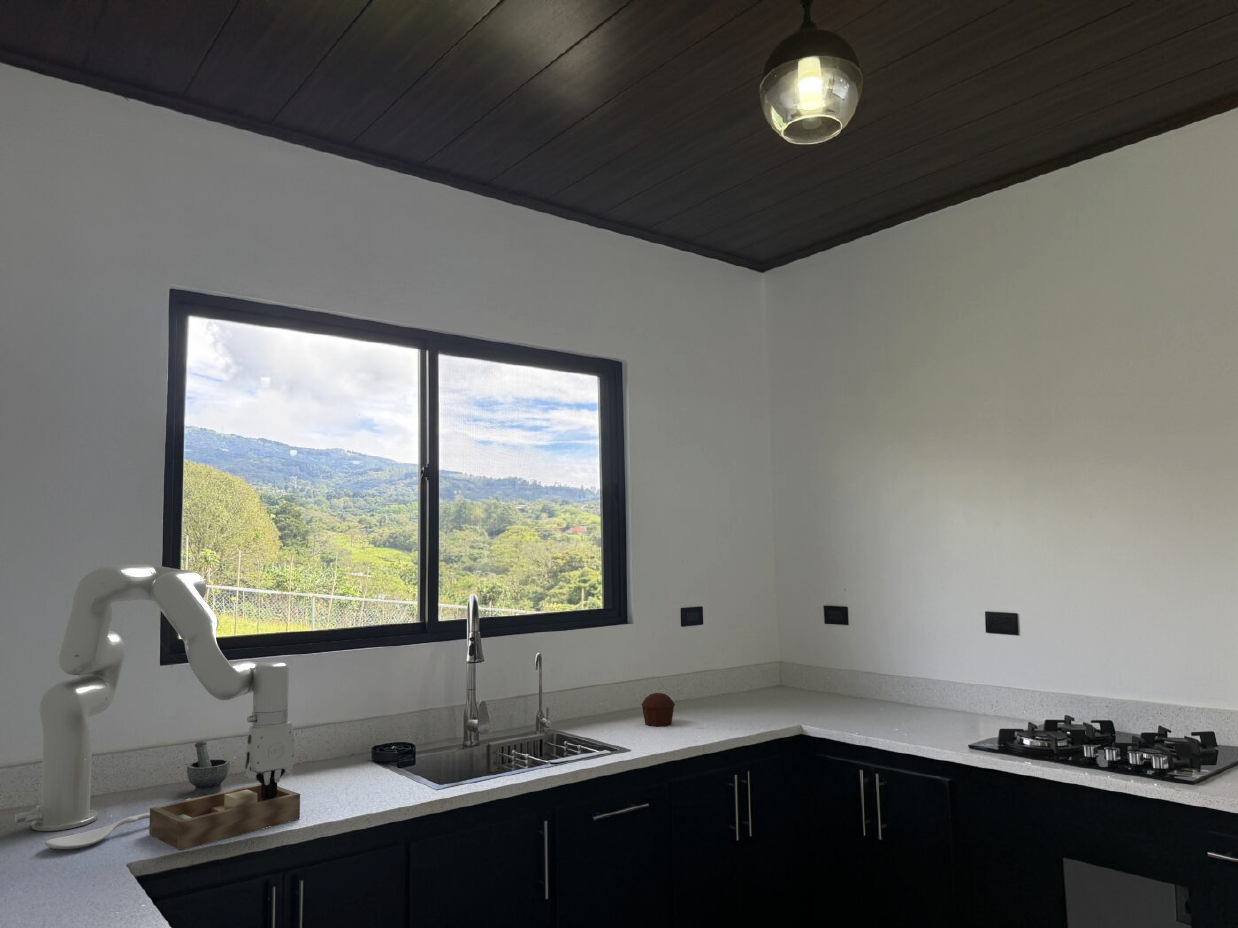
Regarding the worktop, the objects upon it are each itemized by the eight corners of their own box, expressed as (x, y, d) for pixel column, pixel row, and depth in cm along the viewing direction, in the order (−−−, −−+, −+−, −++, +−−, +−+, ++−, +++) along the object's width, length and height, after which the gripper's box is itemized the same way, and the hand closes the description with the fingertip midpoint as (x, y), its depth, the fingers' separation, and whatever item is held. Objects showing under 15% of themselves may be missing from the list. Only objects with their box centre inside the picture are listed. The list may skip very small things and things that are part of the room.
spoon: (210, 817, 201) (210, 802, 202) (56, 860, 176) (57, 842, 176) (189, 811, 207) (190, 796, 207) (37, 851, 181) (37, 834, 181)
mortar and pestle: (235, 790, 223) (236, 742, 224) (197, 798, 216) (198, 748, 217) (215, 783, 230) (216, 736, 231) (178, 791, 223) (179, 742, 225)
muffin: (639, 721, 300) (639, 691, 301) (671, 720, 301) (671, 690, 302) (644, 728, 288) (644, 697, 289) (678, 727, 290) (677, 696, 291)
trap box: (180, 850, 179) (180, 822, 179) (149, 834, 189) (149, 807, 190) (299, 818, 198) (300, 793, 199) (265, 805, 209) (266, 782, 209)
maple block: (234, 817, 190) (235, 798, 191) (224, 812, 194) (224, 794, 194) (257, 811, 194) (257, 793, 195) (246, 807, 198) (246, 789, 198)
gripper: (246, 725, 193) (244, 811, 191) (309, 714, 204) (308, 796, 202) (230, 721, 197) (228, 805, 196) (292, 711, 209) (291, 790, 207)
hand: (269, 800), depth 199 cm, fingers closed
